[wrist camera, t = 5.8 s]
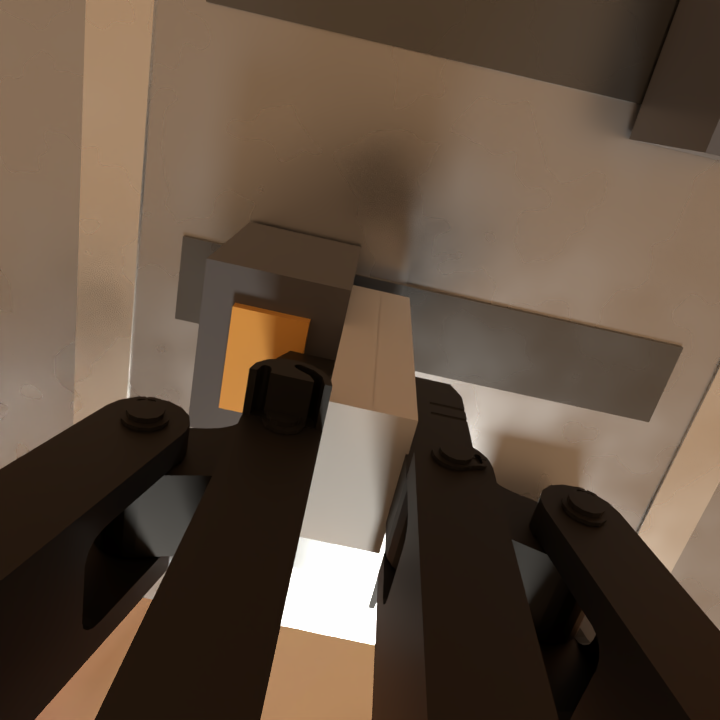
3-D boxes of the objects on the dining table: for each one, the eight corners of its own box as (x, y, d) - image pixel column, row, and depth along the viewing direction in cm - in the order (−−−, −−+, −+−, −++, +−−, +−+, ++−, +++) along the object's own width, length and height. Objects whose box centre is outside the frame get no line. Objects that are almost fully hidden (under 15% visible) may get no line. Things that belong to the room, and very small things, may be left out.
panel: (12, 527, 23) (-23, 566, 21) (-3, -305, 14) (-66, -368, 12) (667, 662, 24) (690, 711, 22) (1071, -36, 15) (1172, -56, 13)
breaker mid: (230, 358, 18) (183, 432, 14) (249, 221, 16) (203, 261, 12) (332, 380, 18) (314, 459, 14) (361, 246, 16) (350, 294, 12)
